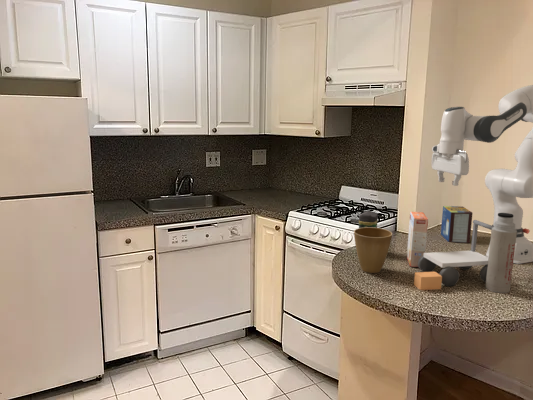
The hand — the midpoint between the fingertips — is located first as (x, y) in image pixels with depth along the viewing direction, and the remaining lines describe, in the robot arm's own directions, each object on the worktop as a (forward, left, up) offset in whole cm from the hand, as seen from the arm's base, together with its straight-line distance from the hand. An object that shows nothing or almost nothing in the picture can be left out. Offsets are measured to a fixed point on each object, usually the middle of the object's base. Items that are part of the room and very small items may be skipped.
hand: (448, 183), depth 181 cm
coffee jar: (+21, -26, -35) cm, 49 cm away
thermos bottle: (-8, +25, -35) cm, 44 cm away
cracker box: (+7, -8, -35) cm, 37 cm away
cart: (0, +11, -35) cm, 37 cm away
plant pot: (+30, -2, -35) cm, 46 cm away
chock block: (+17, +18, -35) cm, 43 cm away
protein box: (-33, -40, -35) cm, 63 cm away
